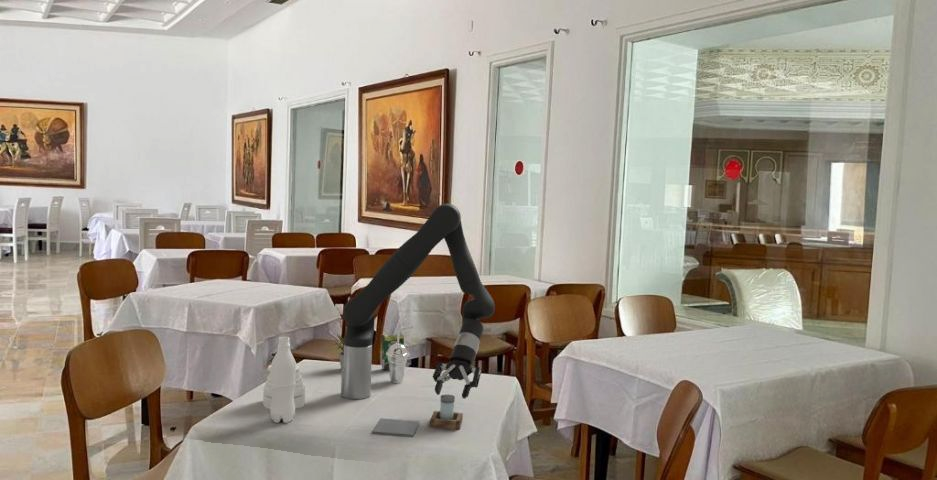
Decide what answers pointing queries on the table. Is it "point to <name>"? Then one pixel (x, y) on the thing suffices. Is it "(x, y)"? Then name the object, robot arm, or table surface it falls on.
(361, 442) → the table surface
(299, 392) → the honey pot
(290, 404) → the water bottle
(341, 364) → the house plant
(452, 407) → the grey-capped cylinder canister
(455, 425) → the walnut collar
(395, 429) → the slate pad
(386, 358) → the coffee box
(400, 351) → the cup with straw
